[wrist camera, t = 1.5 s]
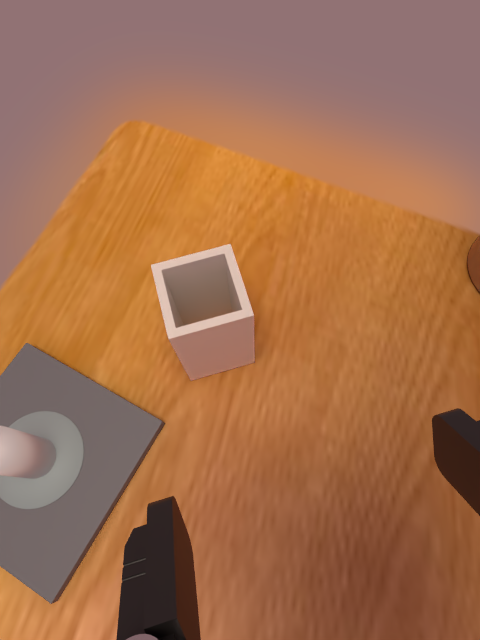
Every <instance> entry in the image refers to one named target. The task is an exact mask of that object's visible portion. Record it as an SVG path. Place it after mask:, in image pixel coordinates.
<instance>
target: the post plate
mask: <svg viewBox="0 0 480 640" xmlns="http://www.w3.org/2000/svg"><path fill="white" fill-rule="evenodd" d="M164 424H165V423H164V422H163V421H161V420H159V419H157V418H156V417H154V416H152V415H151V414H149V413H147V412H145V411H144V410H142V409H140V408H139V407H137V406H135V405H133V404H132V403H130V402H128V401H126V400H125V399H123V398H121V397H120V396H118V395H116V394H114V393H113V392H111V391H109V390H107V389H106V388H104V387H102V386H101V385H99V384H97V383H95V382H94V381H92V380H90V379H89V378H87V377H85V376H83V375H82V374H80V373H78V372H76V371H75V370H73V369H71V368H70V367H68V366H66V365H64V364H63V363H61V362H59V361H58V360H56V359H54V358H52V357H51V356H49V355H47V354H45V353H44V352H42V351H40V350H39V349H37V348H35V347H33V346H32V345H30V344H28V343H26V344H25V345H24V346H23V348H22V349H21V350H20V352H19V353H18V354H17V355H16V357H15V358H14V359H13V361H12V362H11V363H10V364H9V366H8V367H7V368H6V370H5V371H4V372H3V373H2V375H1V376H0V566H1V567H2V568H4V569H5V570H6V571H8V572H9V573H10V574H12V575H13V576H14V577H16V578H17V579H18V580H20V581H21V582H22V583H24V584H25V585H26V586H28V587H29V588H31V589H32V590H33V591H35V592H36V593H37V594H39V595H40V596H41V597H43V598H44V599H45V600H47V601H48V602H49V603H51V604H52V603H54V602H56V601H58V599H59V597H60V596H61V594H62V592H63V591H64V589H65V587H66V586H67V584H68V583H69V581H70V579H71V578H72V576H73V574H74V573H75V571H76V569H77V568H78V566H79V564H80V563H81V561H82V559H83V558H84V556H85V554H86V553H87V551H88V550H89V548H90V546H91V545H92V543H93V541H94V540H95V538H96V536H97V535H98V533H99V531H100V530H101V528H102V526H103V525H104V523H105V522H106V520H107V518H108V517H109V515H110V513H111V512H112V510H113V508H114V507H115V505H116V503H117V502H118V500H119V498H120V497H121V495H122V494H123V492H124V490H125V489H126V487H127V485H128V484H129V482H130V480H131V479H132V477H133V475H134V474H135V472H136V470H137V469H138V467H139V466H140V464H141V462H142V461H143V459H144V457H145V456H146V454H147V452H148V451H149V449H150V447H151V446H152V444H153V442H154V441H155V439H156V438H157V436H158V434H159V433H160V431H161V429H162V428H163V426H164Z"/></svg>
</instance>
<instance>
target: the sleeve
mask: <svg viewBox="0 0 480 640" xmlns="http://www.w3.org/2000/svg"><path fill="white" fill-rule="evenodd" d="M151 267H152V272H153V276H154V280H155V284H156V289H157V293H158V297H159V301H160V306H161V310H162V314H163V318H164V322H165V327H166V331H167V335H168V339H169V341H170V343H171V345H172V347H173V349H174V350H175V352H176V354H177V356H178V358H179V360H180V361H181V363H182V365H183V367H184V369H185V371H186V373H187V374H188V376H189V378H190V380H191V381H192V380H195V379H199V378H202V377H206V376H209V375H213V374H216V373H220V372H223V371H227V370H230V369H234V368H237V367H241V366H244V365H247V364H251V363H254V362H255V349H254V314H253V311H252V308H251V305H250V302H249V299H248V296H247V293H246V290H245V286H244V283H243V280H242V277H241V274H240V271H239V268H238V265H237V262H236V259H235V256H234V253H233V250H232V247H231V244H228V245H224V246H221V247H217V248H213V249H209V250H206V251H202V252H198V253H194V254H190V255H187V256H183V257H179V258H175V259H172V260H168V261H164V262H160V263H156V264H153V265H151Z"/></svg>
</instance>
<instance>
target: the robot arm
mask: <svg viewBox="0 0 480 640" xmlns="http://www.w3.org/2000/svg"><path fill="white" fill-rule="evenodd" d="M467 264H468V272H469V274H470V277H471V280H472V282H473V283H474V285H475V286H476V288H477V290H478V291H479V292H480V236H479V237H478V238H477V240H476V241H475V242H474V243H473V245H472V246H471V249H470V251H469V253H468V260H467ZM432 428H433V443H434V457H435V461H436V464H437V466H438V468H439V470H440V472H441V473H442V475H443V476H444V477H445V478H446V479H447V480H448V482H449V483H450V484H451V485H452V486H453V487H454V488H455V489H456V490H457V491H458V493H459V494H460V495H461V496H462V497H463V498H464V499H465V500H466V501H467V502H468V503H469V505H470V506H471V507H472V508H473V509H474V510H475V511H476V512H477V513H478V514H479V516H480V420H479V421H475V420H474V419H472V418H471V417H470V416H469V415H468V414H466V413H465V412H464V411H462V410H461V409H454V410H451V411H448V412H444V413H441V414H438V415H435V416H433V418H432ZM123 565H124V568H123V573H122V584H121V596H120V607H119V618H118V630H117V640H201V639H200V627H199V616H198V605H197V594H196V582H195V571H194V560H193V552H192V546H191V542H190V538H189V535H188V532H187V529H186V526H185V524H184V521H183V518H182V515H181V513H180V510H179V507H178V504H177V502H176V499H175V497H174V496H172V497H168V498H165V499H162V500H159V501H156V502H152V503H149V504H148V507H147V525H144V526H140V527H137V528H134V529H133V531H132V533H131V535H130V537H129V539H128V541H127V543H126V545H125V550H124V561H123Z"/></svg>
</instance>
